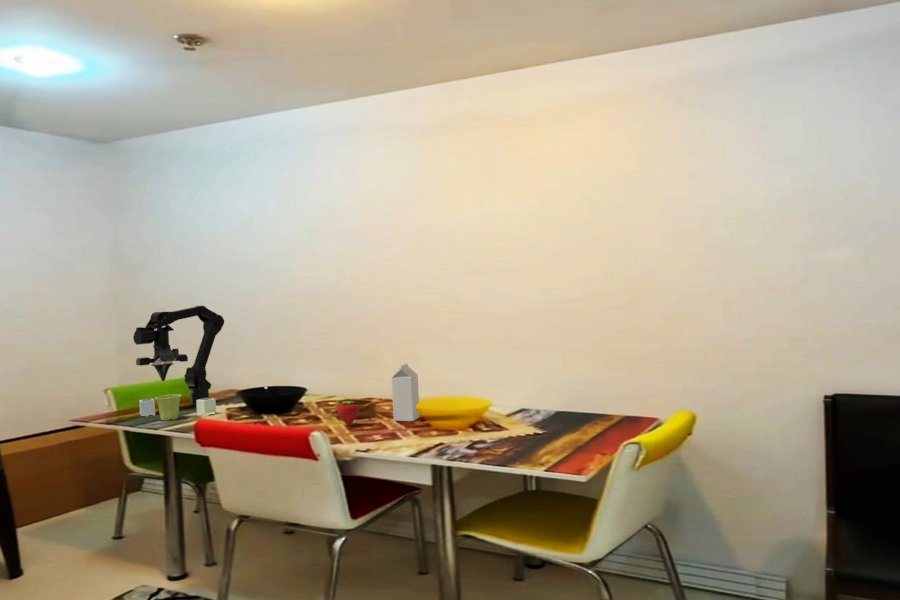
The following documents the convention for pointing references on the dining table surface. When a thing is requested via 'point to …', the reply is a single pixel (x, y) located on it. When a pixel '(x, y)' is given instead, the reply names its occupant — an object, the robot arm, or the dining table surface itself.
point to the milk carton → (405, 394)
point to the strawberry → (348, 412)
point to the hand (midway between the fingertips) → (163, 380)
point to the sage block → (205, 406)
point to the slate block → (147, 407)
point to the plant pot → (168, 406)
